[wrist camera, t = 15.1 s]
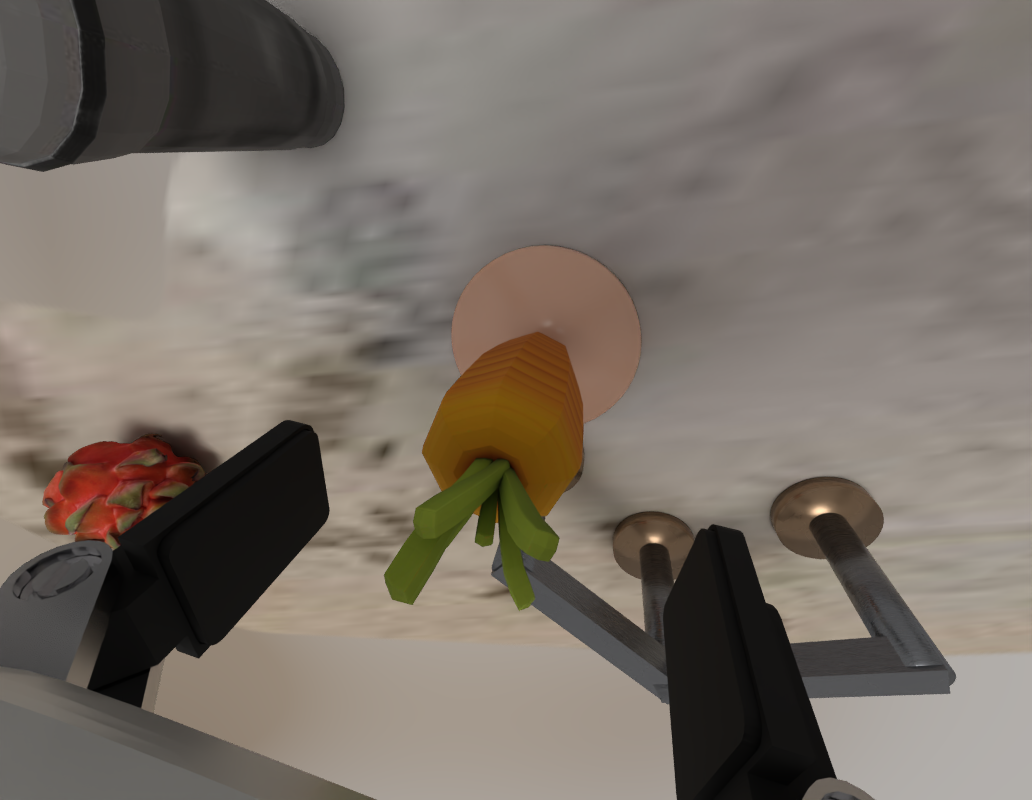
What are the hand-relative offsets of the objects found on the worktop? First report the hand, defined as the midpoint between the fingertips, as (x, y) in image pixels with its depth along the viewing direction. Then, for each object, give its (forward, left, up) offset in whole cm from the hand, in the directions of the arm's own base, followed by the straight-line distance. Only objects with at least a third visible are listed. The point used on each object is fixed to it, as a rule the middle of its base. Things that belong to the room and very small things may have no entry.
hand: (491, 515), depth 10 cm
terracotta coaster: (+1, 0, -14) cm, 14 cm away
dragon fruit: (+29, +16, -14) cm, 36 cm away
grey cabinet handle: (-8, +10, -14) cm, 19 cm away
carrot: (+1, 0, -13) cm, 13 cm away
